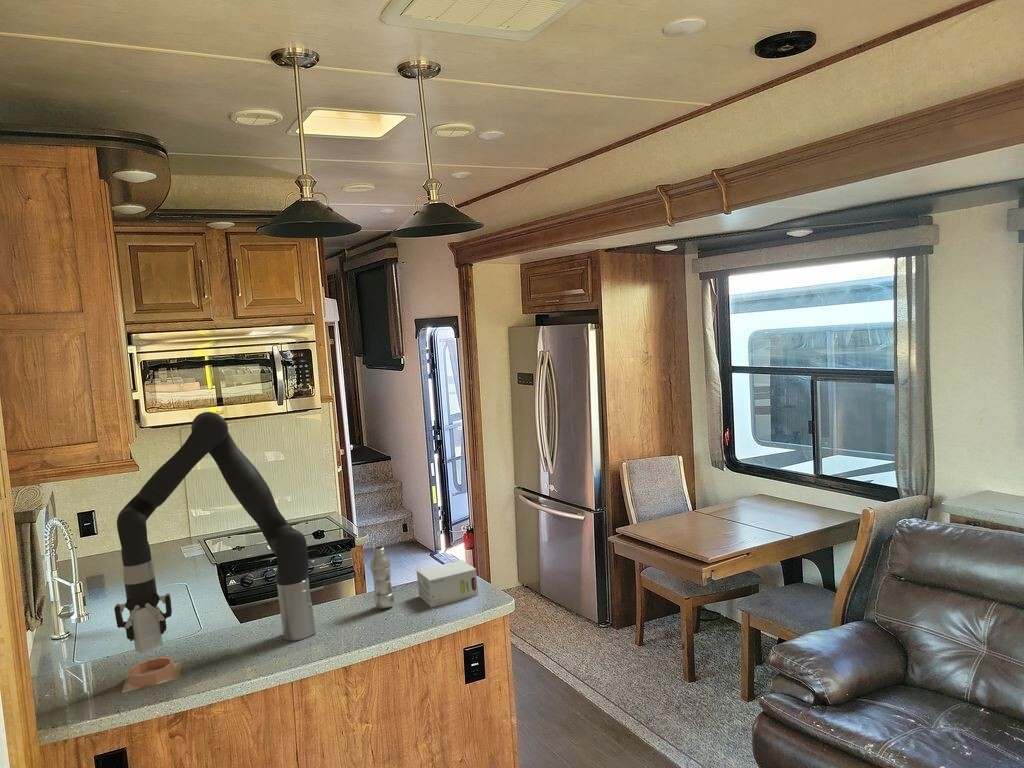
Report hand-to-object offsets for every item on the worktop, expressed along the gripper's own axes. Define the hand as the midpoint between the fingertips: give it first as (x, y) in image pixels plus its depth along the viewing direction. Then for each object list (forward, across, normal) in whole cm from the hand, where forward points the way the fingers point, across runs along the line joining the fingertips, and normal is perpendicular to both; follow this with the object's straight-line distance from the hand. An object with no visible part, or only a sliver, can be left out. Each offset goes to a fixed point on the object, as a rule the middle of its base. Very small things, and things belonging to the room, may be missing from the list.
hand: (147, 636), depth 197 cm
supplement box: (+12, -89, -9) cm, 90 cm away
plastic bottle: (+12, -68, -12) cm, 70 cm away
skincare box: (+4, 0, 0) cm, 4 cm away
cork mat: (+12, 0, 0) cm, 12 cm away
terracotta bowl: (+12, 0, 0) cm, 12 cm away
